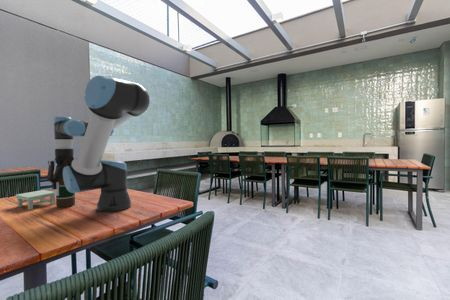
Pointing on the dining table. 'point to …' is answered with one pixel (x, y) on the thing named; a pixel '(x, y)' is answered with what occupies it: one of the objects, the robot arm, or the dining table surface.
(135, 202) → the dining table surface
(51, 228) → the dining table surface
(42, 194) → the stool
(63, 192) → the beer bottle
